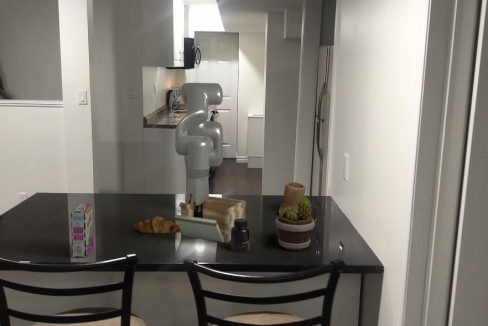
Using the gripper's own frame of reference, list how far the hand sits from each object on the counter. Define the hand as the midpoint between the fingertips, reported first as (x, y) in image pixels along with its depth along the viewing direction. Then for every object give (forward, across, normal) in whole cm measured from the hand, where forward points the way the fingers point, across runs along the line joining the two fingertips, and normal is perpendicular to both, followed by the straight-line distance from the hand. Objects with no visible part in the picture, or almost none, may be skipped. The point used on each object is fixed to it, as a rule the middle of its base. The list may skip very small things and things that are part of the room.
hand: (198, 221), depth 175 cm
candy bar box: (+9, +24, -33) cm, 42 cm away
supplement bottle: (+9, +1, +17) cm, 20 cm away
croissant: (+10, -5, -21) cm, 24 cm away
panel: (+8, -4, 0) cm, 9 cm away
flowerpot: (+9, -13, +34) cm, 37 cm away
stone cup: (+11, -55, +20) cm, 60 cm away
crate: (+10, -12, +1) cm, 15 cm away
